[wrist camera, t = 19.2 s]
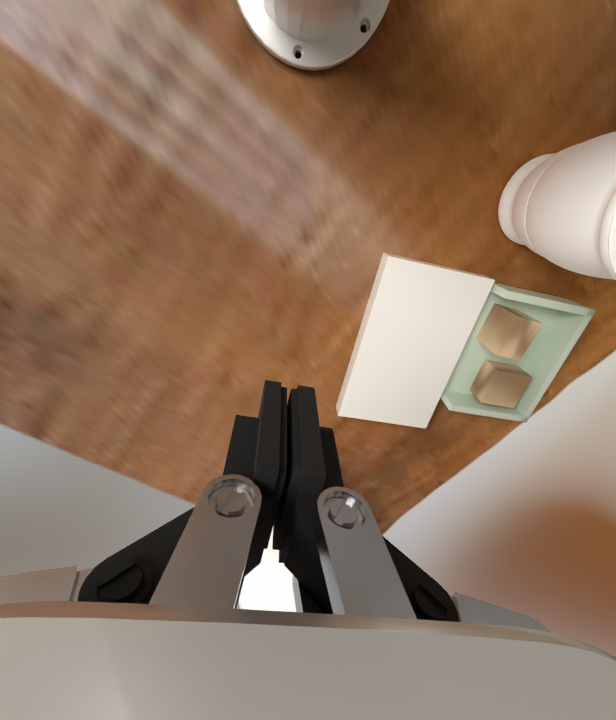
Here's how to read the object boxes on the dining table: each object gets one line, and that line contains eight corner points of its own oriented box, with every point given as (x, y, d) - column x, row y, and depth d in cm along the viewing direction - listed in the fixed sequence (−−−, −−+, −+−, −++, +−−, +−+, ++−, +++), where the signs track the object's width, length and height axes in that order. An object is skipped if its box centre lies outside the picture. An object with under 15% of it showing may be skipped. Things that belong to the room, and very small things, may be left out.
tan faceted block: (518, 316, 35) (543, 323, 35) (494, 303, 39) (516, 309, 39) (495, 355, 37) (519, 361, 37) (475, 338, 41) (497, 343, 41)
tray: (487, 280, 38) (508, 290, 34) (568, 298, 39) (596, 310, 36) (436, 392, 44) (449, 410, 41) (507, 404, 46) (526, 422, 42)
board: (383, 252, 36) (388, 256, 34) (485, 275, 38) (495, 279, 36) (335, 406, 45) (338, 415, 43) (420, 419, 46) (425, 428, 45)
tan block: (532, 377, 40) (516, 365, 43) (498, 370, 39) (484, 359, 42) (513, 408, 42) (500, 394, 45) (481, 402, 41) (469, 389, 44)
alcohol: (276, 423, 45) (262, 763, 19) (327, 452, 48) (378, 782, 22) (241, 464, 48) (185, 807, 22) (291, 489, 51) (296, 819, 24)
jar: (613, 176, 34) (827, 171, 20) (539, 271, 38) (677, 318, 24) (536, 117, 31) (723, 67, 18) (465, 226, 35) (574, 251, 22)
